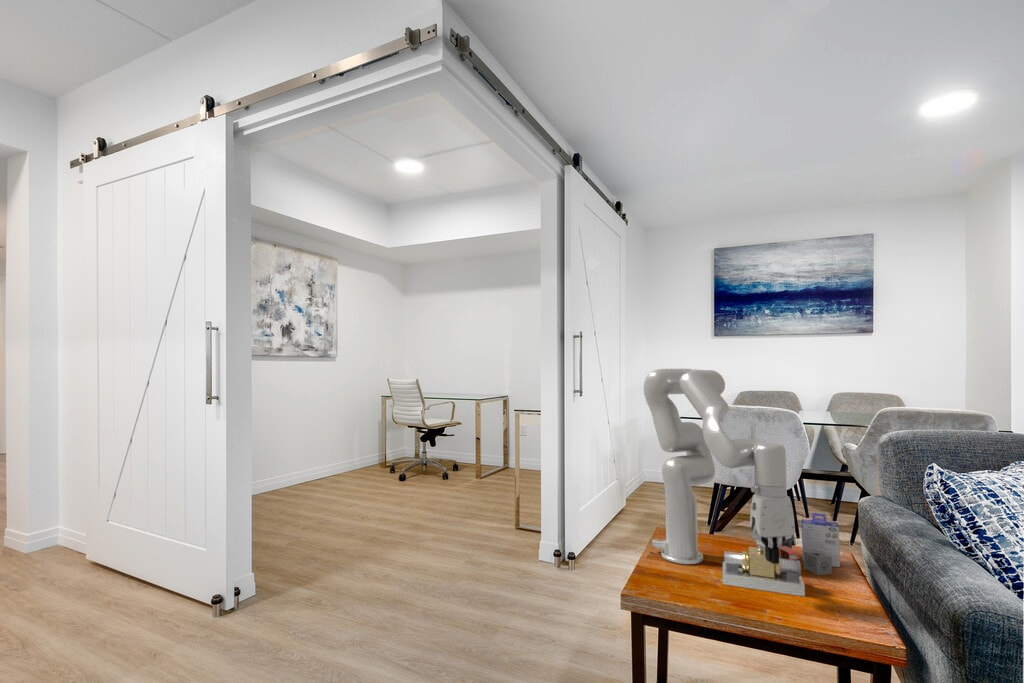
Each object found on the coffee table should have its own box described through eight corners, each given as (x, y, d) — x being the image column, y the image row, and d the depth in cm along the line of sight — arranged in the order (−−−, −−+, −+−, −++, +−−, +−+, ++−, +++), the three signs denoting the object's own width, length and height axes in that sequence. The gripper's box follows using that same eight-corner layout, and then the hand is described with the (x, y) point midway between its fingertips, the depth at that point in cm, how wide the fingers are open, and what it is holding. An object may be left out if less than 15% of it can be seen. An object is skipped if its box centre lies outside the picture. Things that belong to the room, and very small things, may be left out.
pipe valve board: (722, 584, 143) (722, 544, 144) (722, 572, 151) (722, 534, 152) (804, 596, 136) (803, 554, 136) (800, 583, 144) (799, 543, 144)
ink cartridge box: (838, 561, 159) (837, 514, 160) (841, 568, 154) (839, 519, 155) (801, 556, 163) (800, 510, 164) (803, 562, 158) (802, 515, 159)
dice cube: (804, 568, 154) (803, 551, 154) (818, 567, 155) (818, 550, 155) (817, 575, 149) (816, 557, 149) (831, 574, 150) (831, 556, 150)
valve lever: (752, 542, 145) (752, 535, 145) (761, 541, 146) (761, 534, 146) (788, 560, 132) (788, 552, 132) (798, 558, 133) (798, 551, 133)
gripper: (752, 495, 130) (754, 569, 130) (806, 493, 133) (808, 565, 132) (736, 488, 138) (737, 558, 137) (787, 486, 140) (788, 555, 139)
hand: (772, 561), depth 134 cm, fingers closed
